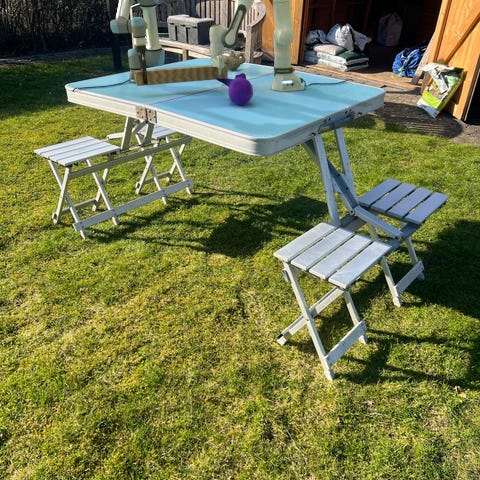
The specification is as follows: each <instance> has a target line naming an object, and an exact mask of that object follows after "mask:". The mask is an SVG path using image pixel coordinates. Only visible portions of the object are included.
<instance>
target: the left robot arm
mask: <svg viewBox="0 0 480 480" xmlns="http://www.w3.org/2000/svg"><path fill="white" fill-rule="evenodd" d="M158 3H159V0H118V5H117V6H118V7H117V12H116V15H115V19H111V21H110V30H111V31H112V33H113V34H132V40H133V45H134V48H130V49H128V50H127V56H128V66H129V76H128V79H127V80H125V81H123V82H118V83H113V84H107V85H99V86H98V85H95V86H83V87H75V88H73V89H72V93H73V92H75V90H83V89H95V88H96V89H97V88H108V87H114V86H118V85H119V86H120V85H123V84H125V83H128V82H129V83H133V84H136V80H135V72H134V71H138V70H142V73H141V74H142V76H143V83H144V85H143V86H148V85H147V84H148V80H147V70H148V69H147V67H162V66H163V65H165V59H166V58H165V57H166V56H165V55H166V54H165V52H166V51H165V48H163V46H162V44H160V37H159V30H158V29H159V28H158V21H157V13H156V7H157V6H158ZM133 4H139V8H141V10H142V15H143V17H142V16H135V17H131V18H130V19H129V17H130V12H131V8H132V6H133ZM77 88H78V89H77Z"/></svg>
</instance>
